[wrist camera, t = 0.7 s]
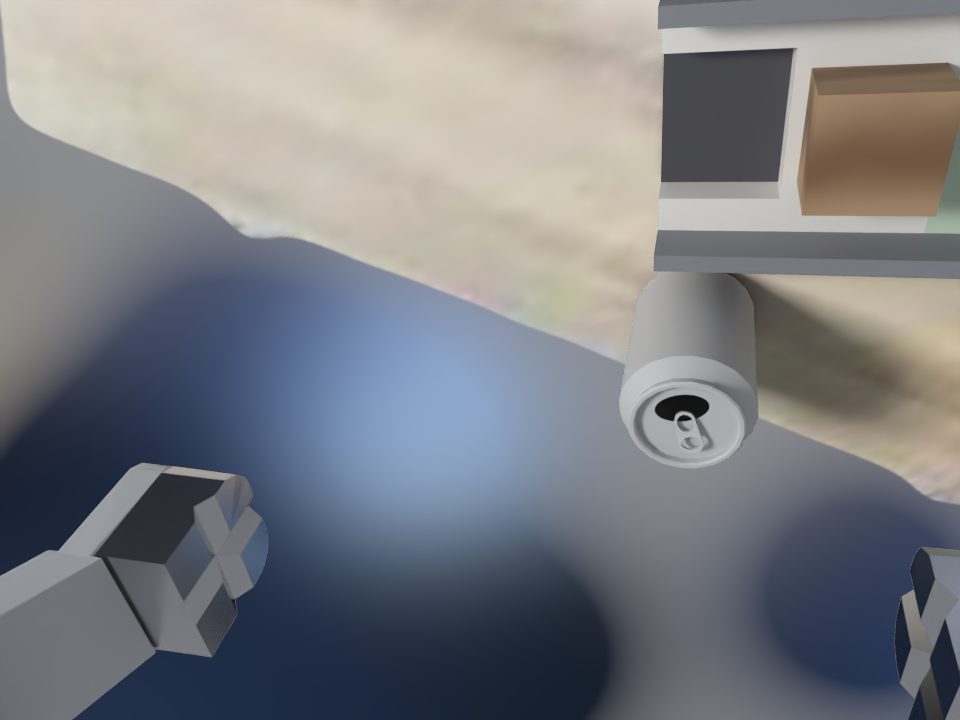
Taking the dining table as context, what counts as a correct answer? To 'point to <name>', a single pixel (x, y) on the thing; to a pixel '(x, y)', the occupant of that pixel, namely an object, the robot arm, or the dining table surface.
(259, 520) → the robot arm
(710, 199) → the box
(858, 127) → the walnut block
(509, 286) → the dining table surface
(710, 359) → the can
